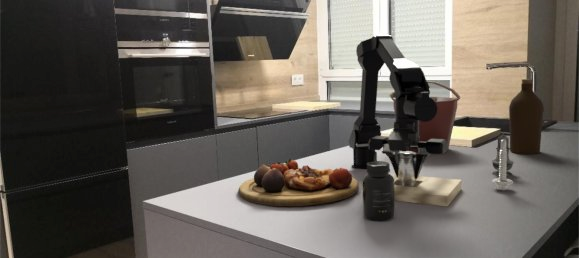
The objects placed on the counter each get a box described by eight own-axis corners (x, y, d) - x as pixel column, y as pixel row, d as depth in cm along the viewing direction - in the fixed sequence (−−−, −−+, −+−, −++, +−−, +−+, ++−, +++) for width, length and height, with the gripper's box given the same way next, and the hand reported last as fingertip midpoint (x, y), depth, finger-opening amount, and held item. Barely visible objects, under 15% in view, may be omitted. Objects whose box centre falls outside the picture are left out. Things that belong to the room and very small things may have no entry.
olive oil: (521, 155, 163) (524, 80, 160) (501, 150, 173) (503, 79, 170) (549, 153, 165) (552, 79, 162) (527, 148, 176) (529, 78, 172)
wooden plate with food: (383, 188, 130) (382, 158, 129) (298, 216, 109) (296, 180, 108) (299, 173, 154) (298, 147, 153) (215, 194, 132) (213, 164, 131)
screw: (516, 190, 123) (502, 192, 122) (501, 185, 128) (487, 188, 126) (518, 139, 122) (504, 141, 120) (503, 136, 126) (488, 138, 124)
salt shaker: (515, 176, 137) (517, 134, 135) (493, 176, 138) (494, 134, 136) (510, 171, 142) (511, 130, 141) (489, 171, 144) (490, 131, 142)
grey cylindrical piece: (395, 192, 124) (395, 154, 123) (401, 188, 128) (401, 150, 127) (413, 194, 122) (413, 155, 120) (418, 190, 126) (418, 151, 124)
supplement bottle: (359, 212, 110) (359, 160, 108) (389, 210, 111) (389, 159, 109) (367, 222, 103) (366, 167, 102) (398, 220, 104) (398, 165, 102)
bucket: (380, 150, 180) (379, 83, 177) (408, 141, 197) (408, 79, 193) (444, 157, 165) (445, 83, 161) (469, 147, 181) (470, 79, 178)
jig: (372, 197, 121) (372, 188, 121) (393, 182, 135) (393, 173, 135) (447, 206, 112) (447, 196, 112) (461, 189, 126) (461, 179, 126)
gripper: (359, 119, 120) (360, 181, 122) (437, 122, 111) (436, 189, 113) (375, 114, 129) (376, 172, 132) (448, 116, 120) (447, 178, 122)
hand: (407, 177), depth 124 cm, fingers closed on grey cylindrical piece, 4 cm apart
